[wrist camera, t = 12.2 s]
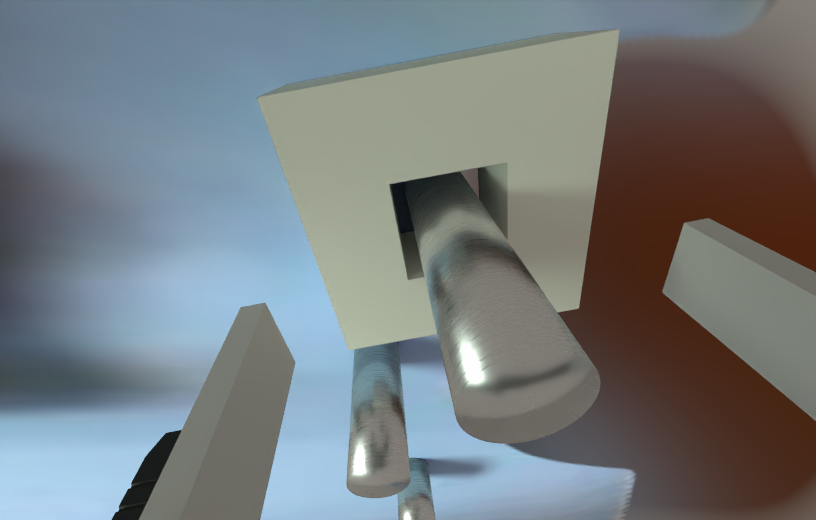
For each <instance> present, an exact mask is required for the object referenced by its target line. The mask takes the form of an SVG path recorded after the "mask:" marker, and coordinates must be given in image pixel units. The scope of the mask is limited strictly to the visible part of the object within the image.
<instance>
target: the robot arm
mask: <svg viewBox="0 0 816 520" xmlns="http://www.w3.org/2000/svg"><path fill="white" fill-rule="evenodd" d="M662 292H663V294H665V295H666V296H667V297H668V298H669V299H671V300H672V301H673V302H674V303H675V304H677V305H678V306H679V307H680V308H681V309H683V310H684V311H685V312H686V313H687V314H689V315H690V316H691V317H692V318H693V319H695V320H696V321H697V322H698V323H699V324H701V325H702V326H703V327H704V328H705V329H707V330H708V331H709V332H710V333H711V334H713V335H714V336H715V337H716V338H717V339H719V340H720V341H721V342H722V343H723V344H724V345H726V346H727V347H728V348H729V349H730V350H732V351H733V352H734V353H735V354H736V355H738V356H739V357H740V358H741V359H743V360H744V361H745V362H746V363H747V364H749V365H750V366H751V367H752V368H753V369H754V370H756V371H757V372H758V373H759V374H760V375H762V376H763V377H764V378H765V379H766V380H768V381H769V382H770V383H771V384H772V385H774V386H775V387H776V388H777V389H778V390H780V391H781V392H782V393H783V394H784V395H786V396H787V397H788V398H789V399H790V400H792V401H793V402H794V403H795V404H796V405H797V406H799V407H800V408H801V409H802V410H803V411H805V412H806V413H807V414H808V415H809V416H811V417H812V418H813V419H814V420H815V421H816V272H814V271H812V270H810V269H808V268H806V267H804V266H802V265H800V264H798V263H796V262H794V261H792V260H790V259H788V258H786V257H784V256H782V255H780V254H778V253H776V252H774V251H772V250H770V249H768V248H766V247H764V246H762V245H760V244H758V243H756V242H754V241H753V240H750V239H749V238H746V237H744V236H742V235H741V234H738V233H737V232H735V231H733V230H731V229H729V228H727V227H725V226H723V225H721V224H719V223H717V222H715V221H713V220H711V219H709V218H707V219H702V220H697V221H692V222H686V223H684V225H683V228H682V231H681V234H680V238H679V241H678V244H677V247H676V250H675V254H674V256H673V260H672V263H671V266H670V269H669V272H668V275H667V279H666V282H665V285H664V288H663V291H662ZM294 366H295V361H294V359H293V357H292V355H291V353H290V351H289V349H288V347H287V345H286V343H285V341H284V339H283V337H282V335H281V333H280V331H279V329H278V327H277V325H276V323H275V321H274V319H273V317H272V315H271V313H270V311H269V309H268V307H267V305H266V303H261V304H256V305H251V306H245V307H241V308H240V310H239V312H238V314H237V316H236V318H235V320H234V323H233V325H232V327H231V329H230V331H229V333H228V335H227V337H226V339H225V341H224V343H223V345H222V348H221V350H220V352H219V354H218V356H217V358H216V360H215V362H214V364H213V366H212V368H211V370H210V373H209V375H208V377H207V379H206V381H205V383H204V385H203V387H202V389H201V391H200V393H199V395H198V398H197V400H196V402H195V404H194V406H193V408H192V410H191V412H190V414H189V416H188V418H187V420H186V423H185V425H184V427H183V429H182V430H179V431H174V432H169V433H166V434H165V435H164V436H163V437H162V438H161V439H160V441H159V442H158V443H157V444H156V445H155V446H154V448H153V449H152V450H151V451H150V452H149V453H148V455H147V456H146V457H145V459H144V461H143V462H142V464H141V466H140V468H139V470H138V472H137V474H136V475H135V477H134V479H133V481H132V483H131V484H132V486H131V488H130V489H128V490H127V492H126V494H125V496H124V498H123V500H122V501H121V503H120V505H119V511H118V512H116V513H115V515H114V516H113V518H112V520H260V517H261V513H262V509H263V504H264V500H265V495H266V491H267V486H268V482H269V477H270V473H271V468H272V464H273V460H274V455H275V451H276V446H277V442H278V437H279V433H280V428H281V424H282V420H283V415H284V411H285V406H286V402H287V397H288V393H289V388H290V384H291V379H292V375H293V371H294Z"/></svg>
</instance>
